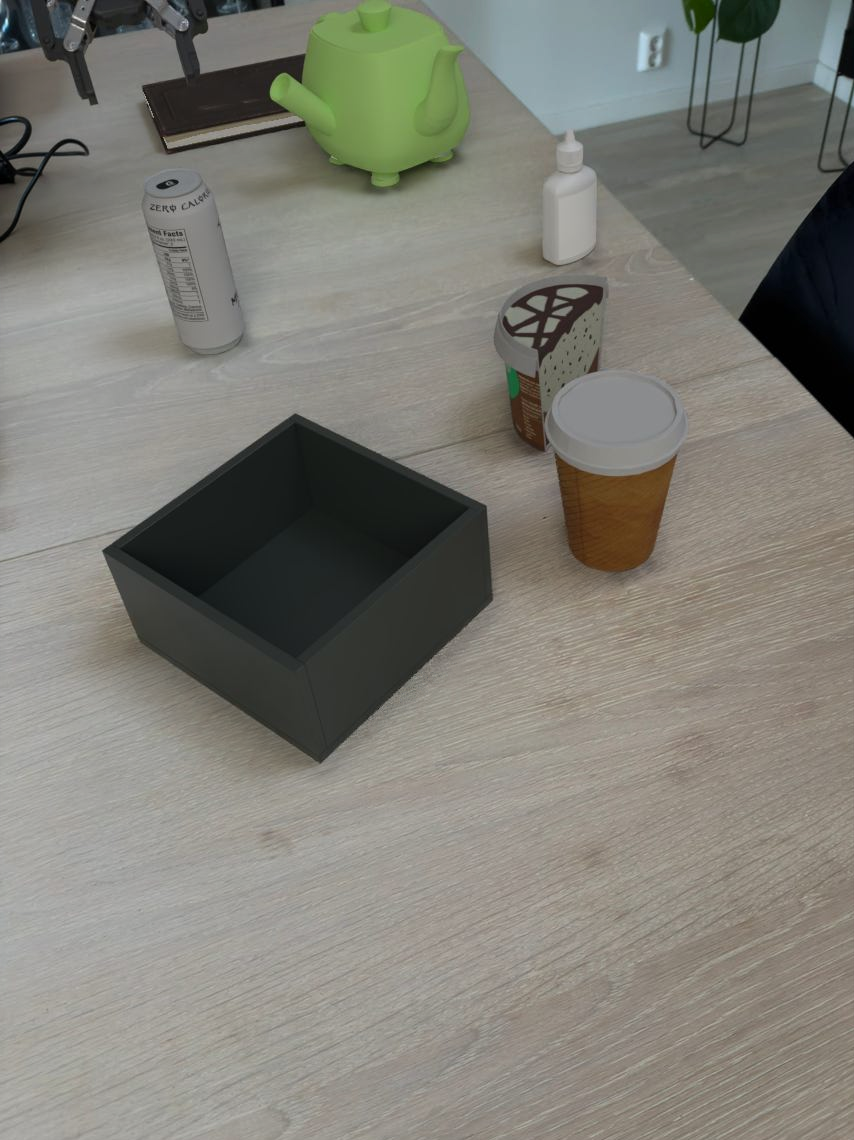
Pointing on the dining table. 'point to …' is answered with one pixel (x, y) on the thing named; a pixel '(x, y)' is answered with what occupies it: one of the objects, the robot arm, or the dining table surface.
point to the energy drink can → (193, 260)
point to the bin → (306, 580)
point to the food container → (549, 344)
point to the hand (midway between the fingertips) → (143, 91)
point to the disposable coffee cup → (615, 463)
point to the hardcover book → (221, 102)
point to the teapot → (379, 90)
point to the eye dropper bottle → (569, 205)
